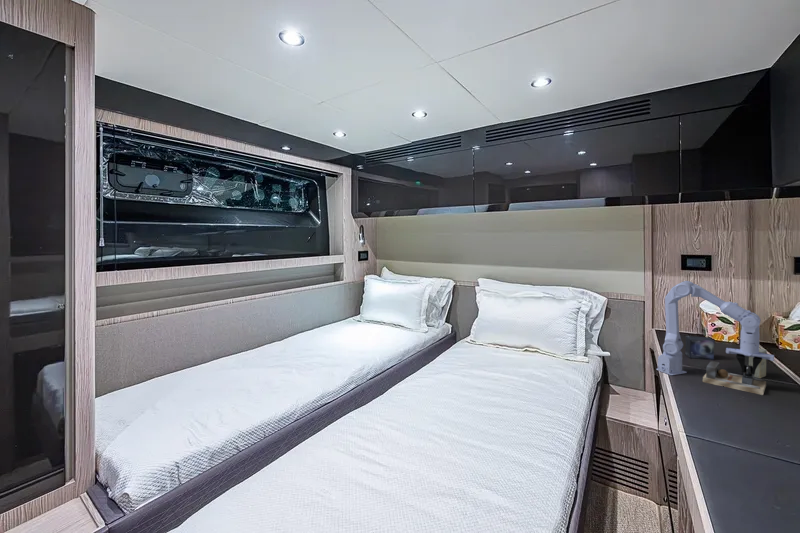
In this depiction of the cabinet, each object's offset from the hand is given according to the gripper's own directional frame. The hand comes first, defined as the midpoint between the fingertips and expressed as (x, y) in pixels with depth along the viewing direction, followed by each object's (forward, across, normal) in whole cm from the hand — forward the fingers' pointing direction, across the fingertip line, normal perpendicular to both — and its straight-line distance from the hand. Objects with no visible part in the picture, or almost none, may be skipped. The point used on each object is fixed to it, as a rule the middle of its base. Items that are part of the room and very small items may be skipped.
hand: (748, 372), depth 152 cm
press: (+6, -4, 0) cm, 8 cm away
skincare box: (+6, +1, +18) cm, 19 cm away
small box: (+6, -22, +31) cm, 38 cm away
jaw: (+4, 0, 0) cm, 4 cm away
